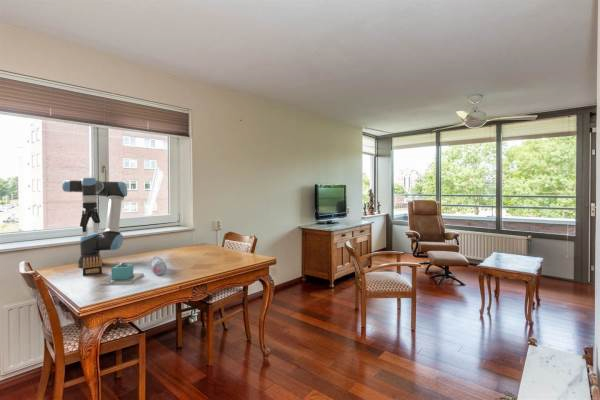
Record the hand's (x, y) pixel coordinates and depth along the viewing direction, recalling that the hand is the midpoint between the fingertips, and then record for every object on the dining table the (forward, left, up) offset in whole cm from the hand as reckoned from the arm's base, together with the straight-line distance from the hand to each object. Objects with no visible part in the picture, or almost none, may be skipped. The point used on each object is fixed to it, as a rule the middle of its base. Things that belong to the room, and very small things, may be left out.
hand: (90, 234), depth 198 cm
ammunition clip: (-5, -2, -28) cm, 28 cm away
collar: (+9, +23, -26) cm, 35 cm away
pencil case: (-8, +39, -28) cm, 48 cm away
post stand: (+9, +23, -27) cm, 37 cm away
